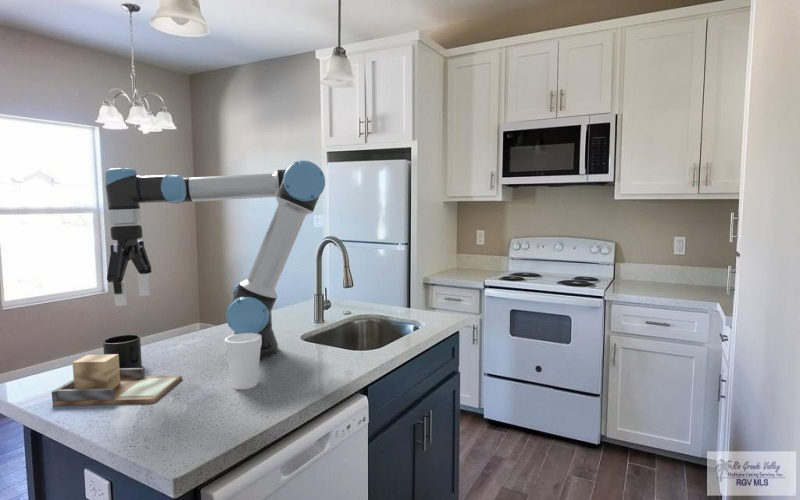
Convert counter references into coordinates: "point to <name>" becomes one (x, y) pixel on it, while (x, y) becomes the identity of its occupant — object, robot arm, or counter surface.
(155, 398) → the slot board
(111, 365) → the oak block
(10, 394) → the counter surface
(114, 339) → the mug
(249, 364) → the foam cup
